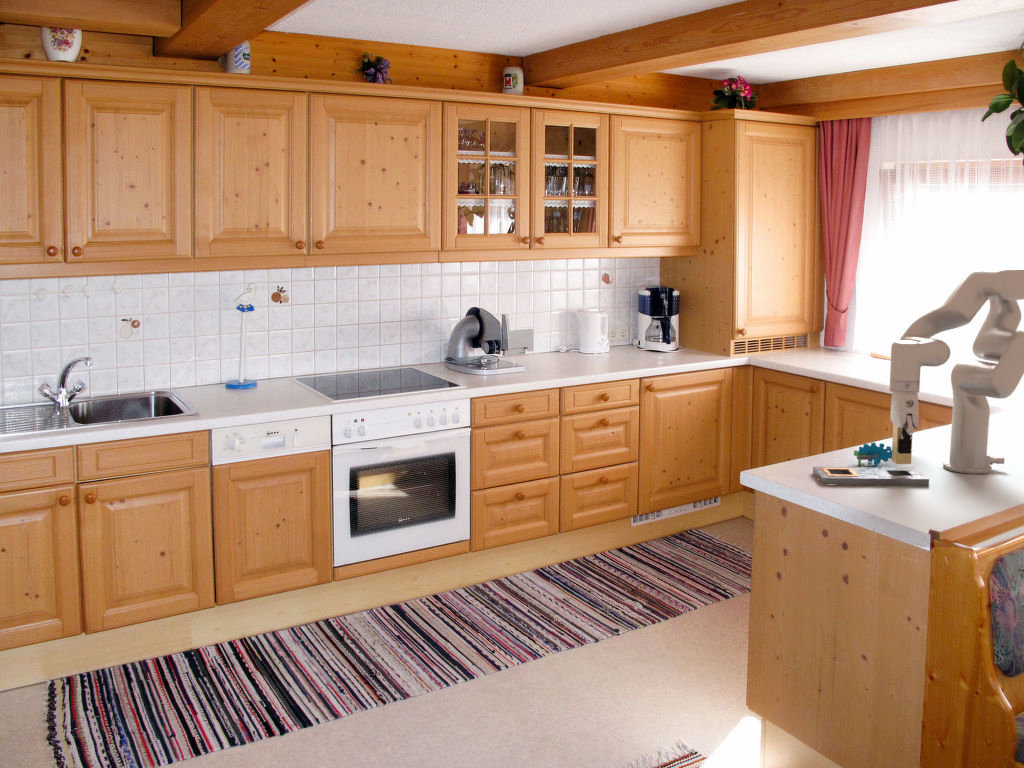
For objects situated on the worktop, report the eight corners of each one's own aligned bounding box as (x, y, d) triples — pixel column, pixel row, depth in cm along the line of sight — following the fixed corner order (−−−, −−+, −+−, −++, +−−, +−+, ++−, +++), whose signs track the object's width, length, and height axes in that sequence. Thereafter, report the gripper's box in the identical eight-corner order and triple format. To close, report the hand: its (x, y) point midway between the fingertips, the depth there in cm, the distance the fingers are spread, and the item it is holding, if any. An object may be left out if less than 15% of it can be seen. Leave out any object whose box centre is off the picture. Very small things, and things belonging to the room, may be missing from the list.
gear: (896, 458, 274) (891, 440, 267) (896, 475, 270) (890, 457, 264) (857, 459, 279) (851, 441, 272) (856, 476, 276) (850, 458, 269)
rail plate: (914, 474, 262) (914, 467, 262) (928, 486, 250) (929, 478, 250) (812, 473, 265) (813, 466, 264) (822, 485, 253) (822, 477, 252)
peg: (906, 460, 258) (908, 418, 256) (911, 463, 254) (913, 421, 252) (891, 460, 258) (893, 418, 256) (896, 464, 254) (897, 421, 252)
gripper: (929, 391, 244) (926, 458, 247) (908, 380, 260) (906, 443, 263) (899, 391, 244) (897, 459, 248) (881, 380, 261) (878, 444, 264)
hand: (901, 450), depth 255 cm, fingers closed on peg, 3 cm apart
